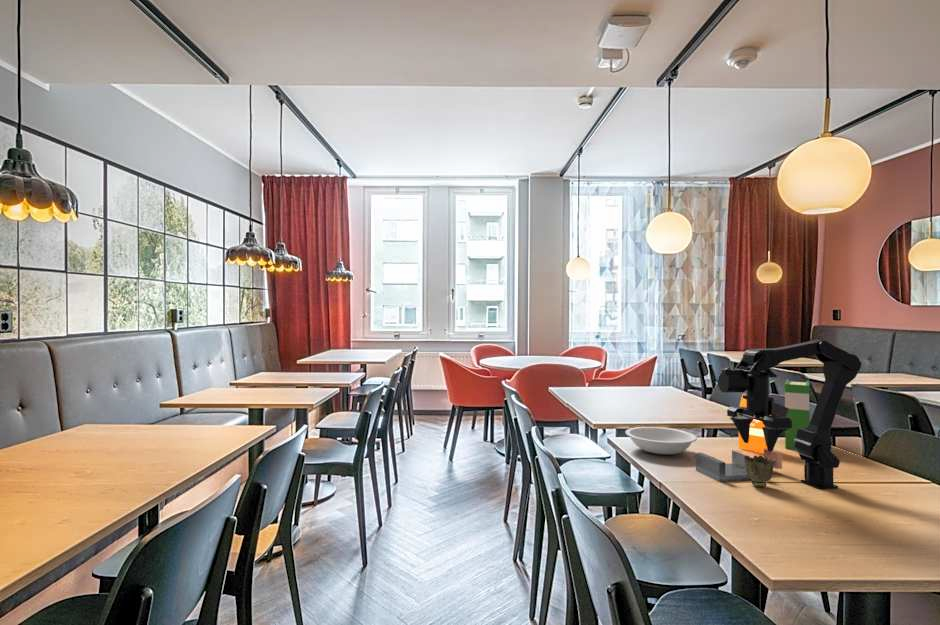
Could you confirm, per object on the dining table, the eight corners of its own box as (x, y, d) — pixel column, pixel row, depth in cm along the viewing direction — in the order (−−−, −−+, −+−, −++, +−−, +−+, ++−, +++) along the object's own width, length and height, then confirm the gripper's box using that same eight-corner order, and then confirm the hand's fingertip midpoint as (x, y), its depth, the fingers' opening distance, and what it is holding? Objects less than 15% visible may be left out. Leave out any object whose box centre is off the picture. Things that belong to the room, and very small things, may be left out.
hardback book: (787, 439, 192) (786, 379, 193) (809, 441, 188) (809, 380, 189) (785, 448, 178) (784, 384, 178) (809, 451, 174) (809, 385, 174)
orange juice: (746, 445, 182) (746, 392, 183) (772, 450, 176) (772, 395, 176) (738, 448, 177) (737, 394, 178) (764, 454, 171) (764, 397, 171)
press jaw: (790, 471, 145) (789, 455, 145) (758, 473, 143) (757, 456, 143) (762, 461, 156) (761, 445, 156) (732, 462, 154) (731, 447, 154)
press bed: (764, 478, 144) (763, 460, 144) (719, 481, 141) (719, 462, 141) (737, 467, 154) (737, 450, 155) (695, 470, 152) (695, 452, 152)
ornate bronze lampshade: (766, 482, 140) (765, 455, 141) (779, 491, 133) (779, 462, 133) (739, 481, 141) (739, 454, 141) (751, 490, 134) (751, 461, 134)
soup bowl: (637, 461, 161) (637, 442, 161) (617, 443, 185) (617, 426, 185) (709, 462, 160) (709, 442, 160) (680, 444, 184) (680, 427, 184)
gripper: (809, 397, 130) (810, 454, 130) (758, 387, 149) (758, 438, 148) (773, 398, 128) (773, 456, 128) (725, 388, 147) (726, 439, 147)
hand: (757, 446), depth 138 cm, fingers open, 9 cm apart
